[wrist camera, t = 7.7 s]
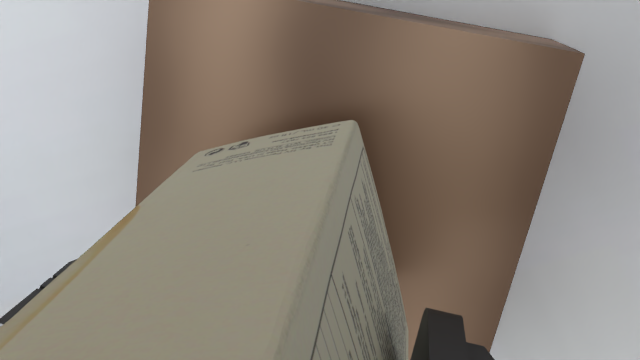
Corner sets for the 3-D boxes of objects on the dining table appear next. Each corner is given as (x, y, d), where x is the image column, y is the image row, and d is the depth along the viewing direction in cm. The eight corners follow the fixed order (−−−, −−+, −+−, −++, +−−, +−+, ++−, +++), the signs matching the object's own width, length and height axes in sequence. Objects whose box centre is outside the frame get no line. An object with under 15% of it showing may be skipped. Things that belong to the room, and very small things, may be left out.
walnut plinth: (552, 39, 19) (584, 53, 15) (460, 345, 23) (469, 414, 20) (199, -26, 20) (151, -27, 16) (172, 277, 24) (127, 331, 21)
